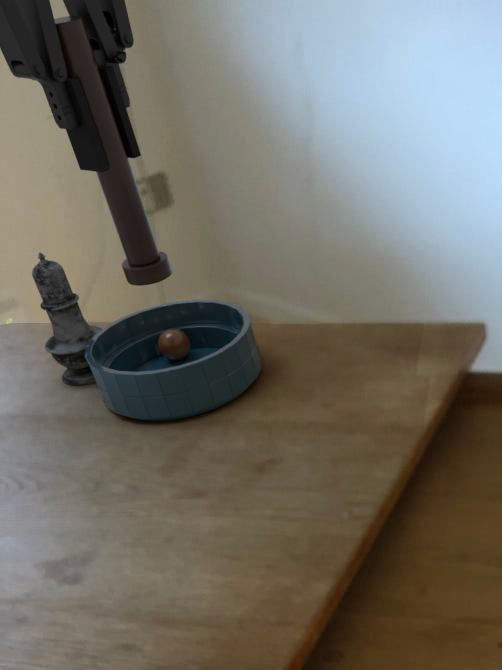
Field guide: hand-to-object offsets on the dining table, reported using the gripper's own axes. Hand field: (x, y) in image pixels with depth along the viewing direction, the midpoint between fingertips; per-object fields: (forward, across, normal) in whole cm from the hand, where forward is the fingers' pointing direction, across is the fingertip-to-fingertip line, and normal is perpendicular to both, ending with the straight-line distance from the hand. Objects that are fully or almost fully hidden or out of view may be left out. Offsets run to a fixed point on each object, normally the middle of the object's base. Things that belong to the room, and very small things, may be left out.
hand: (110, 161), depth 78 cm
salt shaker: (+20, -2, +12) cm, 23 cm away
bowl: (+20, 0, 0) cm, 20 cm away
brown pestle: (+10, 0, 0) cm, 10 cm away
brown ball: (+18, +3, +4) cm, 19 cm away
